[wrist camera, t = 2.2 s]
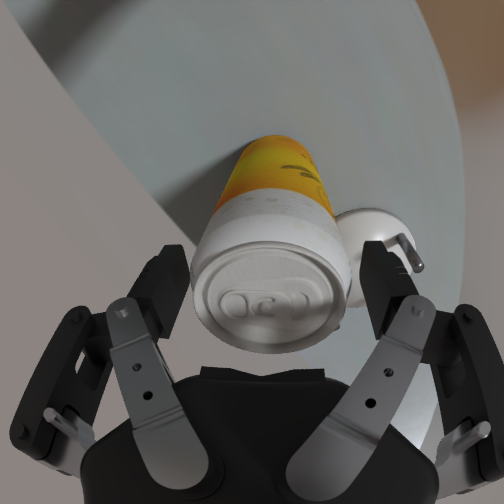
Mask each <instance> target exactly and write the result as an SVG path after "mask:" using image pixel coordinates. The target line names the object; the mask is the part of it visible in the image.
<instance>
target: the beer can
mask: <svg viewBox="0 0 504 504" xmlns="http://www.w3.org/2000/svg"><path fill="white" fill-rule="evenodd" d="M190 281H191V287H192V290H193V303H194V308H195V311H196V314H197V315H198V317H199V319H200V321H201V322H202V324H203V325H204V326H205V327H206V328H207V329H208V330H209V331H210V332H211V333H212V334H213V335H215V336H216V337H217V338H219V339H220V340H222V341H223V342H225V343H227V344H229V345H231V346H234V347H236V348H239V349H242V350H246V351H250V352H255V353H263V354H281V353H290V352H295V351H299V350H302V349H305V348H308V347H310V346H313V345H315V344H317V343H318V342H320V341H322V340H323V339H325V338H326V337H327V336H329V335H330V334H331V333H332V332H333V331H334V330H335V329H336V328H337V326H338V325H339V323H340V322H341V320H342V318H343V316H344V313H345V309H346V301H347V299H348V296H349V293H350V290H351V285H352V270H351V265H350V262H349V259H348V256H347V252H346V249H345V246H344V243H343V240H342V237H341V234H340V231H339V228H338V225H337V222H336V219H335V217H334V214H333V211H332V208H331V205H330V203H329V200H328V197H327V195H326V192H325V189H324V187H323V184H322V181H321V179H320V176H319V174H318V171H317V169H316V166H315V164H314V161H313V159H312V157H311V155H310V153H309V152H308V150H307V149H306V148H305V147H304V146H303V145H302V144H300V143H299V142H297V141H296V140H294V139H292V138H289V137H286V136H280V135H271V136H265V137H262V138H259V139H257V140H255V141H254V142H252V143H251V144H250V145H248V146H247V147H246V148H245V150H244V151H243V152H242V154H241V156H240V158H239V160H238V162H237V164H236V166H235V168H234V170H233V172H232V174H231V176H230V178H229V180H228V182H227V184H226V186H225V188H224V191H223V193H222V195H221V197H220V199H219V201H218V203H217V205H216V207H215V210H214V212H213V214H212V216H211V218H210V220H209V223H208V225H207V227H206V229H205V231H204V234H203V236H202V238H201V240H200V243H199V245H198V247H197V249H196V252H195V254H194V256H193V259H192V262H191V268H190Z"/></svg>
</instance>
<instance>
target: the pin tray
mask: <svg viewBox="0 0 504 504" xmlns="http://www.w3.org/2000/svg"><path fill="white" fill-rule="evenodd" d="M335 219H336V222H337V225H338V228H339V231H340V234H341V237H342V240H343V243H344V246H345V249H346V252H347V256H348V259H349V262H350V265H351V270H352V285H351V290H350V293H349V296H348V299H347V301H346V307H363V306H367V305H366V301H365V298H364V295H363V291H362V288H361V285H360V280H359V269H360V263H361V257H362V251H363V245H364V242H365V241H378V240H381V241H382V242H383V244H384V245H385V247H386V249H387V251H388V252H394V253H395V254H396V255H397V256H398V257H400V258H401V260H402V262H403V264H404V266H405V268H406V269H407V271H408V274H409V275H410V274H411V272H412V270H413V271H414V272H415V273H420V272H421V271H423V269H424V264H423V262H422V261H421V259H420V257H419V256H418V254H417V252H416V246H415V242H414V239H413V237H412V235H411V233H410V232H409V230H408V229H407V227H406V226H405V224H404V223H403V222H402V221H401V220H400V219H399V218H398V217H396V216H395V215H393V214H391V213H390V212H387V211H384V210H381V209H376V208H361V209H355V210H351V211H348V212H345V213H343V214H341V215H338V216H337V217H335ZM339 328H340V324H339V325H338V326H337V328H336V329H335V330H338V329H339ZM335 330H334V331H335Z"/></svg>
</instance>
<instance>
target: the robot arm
mask: <svg viewBox="0 0 504 504" xmlns="http://www.w3.org/2000/svg"><path fill="white" fill-rule="evenodd" d="M359 280H360V285H361V288H362V291H363V295H364V298H365V301H366V305H367V308H368V312H369V315H370V319H371V323H372V326H373V330H374V334H375V338H376V340H379V342H378V344H377V345H376V347H375V349H374V350H373V352H372V354H371V355H370V357H369V359H368V360H367V362H366V363H365V365H364V366H363V368H362V369H361V371H360V373H359V374H358V376H357V377H356V378H355V380H354V381H353V383H352V384H351V386H348V385H346V384H344V383H342V382H340V381H338V380H335V379H331V378H327V377H325V373H324V369H294V370H289V371H285V372H281V373H276V374H271V375H266V376H257V375H253V374H250V373H246V372H242V371H238V370H235V369H231V368H217V367H204V366H202V367H201V371H200V375H195V376H191V377H188V378H185V379H182V380H180V381H178V382H175V380H174V378H173V376H172V374H171V372H170V370H169V368H168V366H167V364H166V361H165V359H164V357H163V355H162V353H161V351H160V348H159V346H158V345H157V342H158V339H159V338H165V339H169V337H170V334H171V331H172V328H173V326H174V323H175V320H176V318H177V315H178V313H179V310H180V308H181V305H182V302H183V300H184V297H185V295H186V292H187V289H188V287H189V283H190V272H189V268H188V264H187V260H186V256H185V252H184V249H183V247H182V245H165V246H164V247H163V249H162V250H161V252H160V254H159V255H158V256H154V257H153V258H152V259H151V260H150V261H148V262H147V264H146V265H145V267H144V268H143V271H142V272H141V273H140V275H139V278H137V280H136V281H135V283H134V285H133V286H132V288H131V290H130V292H129V293H128V295H127V297H124V298H120V299H118V300H116V301H114V302H113V303H111V304H110V305H109V307H108V308H107V310H106V312H103V313H97V314H91V312H90V310H89V309H88V308H87V307H86V306H77V307H74V308H72V309H71V310H70V311H68V312H67V314H66V315H65V316H64V318H63V319H62V321H61V323H60V325H59V326H58V328H57V330H56V331H55V333H54V335H53V337H52V338H51V340H50V342H49V344H48V346H47V348H46V350H45V351H44V353H43V355H42V357H41V359H40V361H39V363H38V365H37V367H36V369H35V371H34V373H33V375H32V377H31V379H30V381H29V383H28V386H27V388H26V390H25V392H24V394H23V397H22V399H21V401H20V404H19V406H18V408H17V411H16V413H15V416H14V419H13V421H12V424H11V427H10V433H9V435H10V440H11V442H12V444H13V446H14V447H15V448H17V449H18V450H20V451H22V452H23V453H25V454H27V455H28V456H30V457H31V458H32V459H34V460H36V461H37V462H39V463H41V464H43V465H45V466H47V467H48V468H50V469H53V470H56V471H58V472H61V473H63V474H65V475H68V476H72V475H73V476H75V477H77V478H80V479H81V484H82V488H83V494H84V504H435V501H436V500H438V499H441V498H444V497H447V496H450V495H453V494H465V493H467V492H470V491H473V490H475V489H478V488H480V487H483V486H485V485H488V484H490V483H492V482H494V481H497V480H499V479H501V478H503V477H504V364H503V361H502V359H501V356H500V354H499V351H498V349H497V346H496V344H495V342H494V339H493V337H492V335H491V333H490V330H489V328H488V326H487V324H486V322H485V320H484V318H483V316H482V314H481V312H480V311H479V310H478V309H477V308H475V307H474V306H472V305H469V304H461V305H459V306H457V307H456V309H455V311H454V313H449V312H443V311H438V310H436V308H435V306H434V304H433V303H432V302H431V301H430V300H429V299H427V298H425V297H423V296H420V295H419V293H418V291H417V289H416V287H415V285H414V283H413V281H412V279H411V277H410V275H409V274H408V271H407V269H406V268H405V266H404V264H403V262H402V260H401V258H400V257H398V256H397V255H396V254H395V253H394V252H388V251H387V249H386V247H385V245H384V244H383V242H382V241H381V240H378V241H365V242H364V245H363V251H362V257H361V263H360V269H359ZM81 351H82V352H83V353H84V354H85V357H84V359H83V362H82V364H81V366H80V368H79V370H78V373H77V374H76V371H75V365H76V362H77V360H78V358H79V356H80V353H81ZM419 363H425V364H430V367H431V371H432V375H433V379H434V383H435V387H436V392H437V396H438V401H439V406H440V411H441V417H442V423H443V428H444V436H445V437H443V438H442V440H441V441H440V443H439V445H438V448H437V455H436V461H435V464H433V463H432V462H431V460H430V459H428V458H427V457H426V456H425V455H424V454H423V453H422V452H421V451H420V450H419V449H417V448H416V447H415V446H414V445H413V444H412V443H411V442H410V441H409V440H408V439H406V438H405V437H404V436H403V435H402V434H401V433H400V432H399V431H398V430H397V429H396V428H395V427H393V426H392V425H391V424H390V422H391V420H392V418H393V416H394V415H395V413H396V411H397V409H398V407H399V405H400V403H401V401H402V399H403V397H404V395H405V393H406V391H407V389H408V387H409V385H410V383H411V381H412V379H413V377H414V374H415V372H416V370H417V368H418V365H419ZM113 366H114V369H115V373H116V377H117V380H118V383H119V387H120V390H121V393H122V396H123V399H124V402H125V405H126V408H127V411H128V414H129V417H130V418H129V419H127V420H126V421H125V422H123V423H122V424H120V425H119V426H118V427H116V428H115V429H114V430H112V431H111V432H110V433H108V434H107V435H105V436H104V437H103V438H101V439H100V440H99V441H97V442H96V440H95V439H94V438H95V437H94V431H93V429H92V425H93V423H94V419H95V416H96V413H97V410H98V407H99V404H100V401H101V398H102V395H103V393H104V390H105V387H106V384H107V381H108V379H109V376H110V373H111V370H112V368H113Z"/></svg>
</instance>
